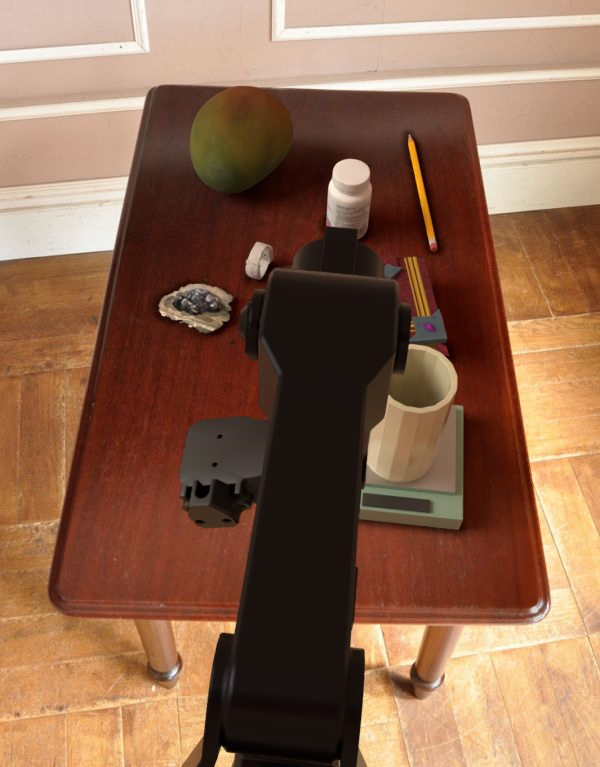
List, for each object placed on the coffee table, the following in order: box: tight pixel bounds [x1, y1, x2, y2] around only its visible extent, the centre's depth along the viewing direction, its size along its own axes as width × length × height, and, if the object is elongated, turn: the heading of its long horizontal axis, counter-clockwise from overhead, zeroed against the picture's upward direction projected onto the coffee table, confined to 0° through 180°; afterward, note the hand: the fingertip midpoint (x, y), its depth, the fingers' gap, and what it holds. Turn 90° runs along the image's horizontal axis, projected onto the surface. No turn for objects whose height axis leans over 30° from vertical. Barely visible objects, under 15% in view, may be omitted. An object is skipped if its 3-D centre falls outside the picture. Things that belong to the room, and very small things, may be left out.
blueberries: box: [157, 283, 235, 334], centre depth 90 cm, size 7×8×2 cm
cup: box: [367, 344, 459, 482], centre depth 74 cm, size 7×7×12 cm
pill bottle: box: [325, 158, 373, 240], centre depth 94 cm, size 5×5×8 cm
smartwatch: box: [245, 241, 274, 281], centre depth 92 cm, size 4×2×4 cm, turn 158°
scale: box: [359, 404, 464, 531], centre depth 80 cm, size 12×12×3 cm
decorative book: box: [284, 253, 450, 357], centre depth 88 cm, size 11×16×5 cm
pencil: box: [407, 134, 439, 252], centre depth 101 cm, size 1×19×1 cm, turn 5°
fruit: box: [189, 85, 295, 195], centre depth 98 cm, size 12×13×10 cm
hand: (311, 538), depth 63 cm, fingers open, 9 cm apart
